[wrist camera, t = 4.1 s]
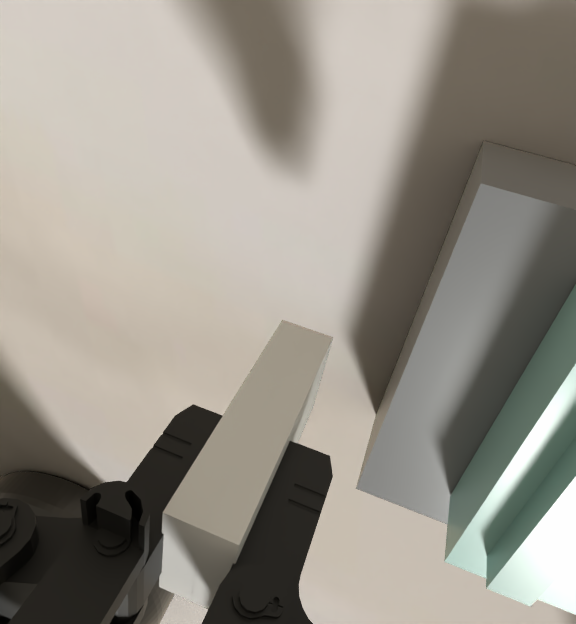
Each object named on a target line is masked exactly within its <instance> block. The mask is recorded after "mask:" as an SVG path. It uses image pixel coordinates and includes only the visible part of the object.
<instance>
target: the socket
mask: <svg viewBox="0 0 576 624" xmlns="http://www.w3.org/2000/svg"><path fill="white" fill-rule="evenodd" d="M575 284H576V165H573V164H570V163H566V162H562V161H558V160H554V159H551V158H547V157H543V156H539V155H536V154H532V153H528V152H524V151H521V150H517V149H513V148H509V147H506V146H502V145H498V144H494V143H491V142H487V141H483V144H482V146H481V149H480V151H479V154H478V156H477V159H476V162H475V164H474V167H473V169H472V172H471V174H470V177H469V179H468V182H467V184H466V187H465V190H464V192H463V195H462V197H461V200H460V202H459V205H458V207H457V210H456V213H455V215H454V218H453V220H452V223H451V225H450V228H449V230H448V233H447V235H446V238H445V241H444V243H443V246H442V248H441V251H440V253H439V256H438V258H437V261H436V263H435V266H434V269H433V271H432V274H431V276H430V279H429V281H428V284H427V286H426V289H425V292H424V294H423V297H422V299H421V302H420V304H419V307H418V309H417V312H416V314H415V317H414V320H413V322H412V325H411V327H410V330H409V332H408V335H407V337H406V340H405V343H404V345H403V348H402V350H401V353H400V355H399V358H398V360H397V363H396V365H395V368H394V371H393V373H392V376H391V378H390V381H389V383H388V386H387V388H386V391H385V394H384V396H383V399H382V401H381V404H380V406H379V409H378V411H377V414H376V417H375V420H374V424H373V428H372V432H371V435H370V439H369V443H368V446H367V450H366V454H365V457H364V461H363V465H362V468H361V472H360V476H359V479H358V483H357V487H356V489H358V490H361V491H363V492H366V493H369V494H371V495H374V496H376V497H379V498H381V499H384V500H386V501H389V502H391V503H394V504H397V505H399V506H402V507H404V508H407V509H409V510H412V511H414V512H417V513H419V514H422V515H425V516H427V517H430V518H432V519H435V520H437V521H440V522H442V523H445V524H448V514H449V503H450V496H451V494H452V492H453V491H454V489H455V487H456V485H457V484H458V482H459V480H460V479H461V477H462V475H463V474H464V472H465V470H466V469H467V467H468V465H469V463H470V462H471V460H472V458H473V457H474V455H475V453H476V452H477V450H478V448H479V447H480V445H481V443H482V442H483V440H484V438H485V436H486V435H487V433H488V431H489V430H490V428H491V426H492V425H493V423H494V421H495V420H496V418H497V416H498V414H499V413H500V411H501V409H502V408H503V406H504V404H505V403H506V401H507V399H508V398H509V396H510V394H511V393H512V391H513V389H514V387H515V386H516V384H517V382H518V381H519V379H520V377H521V376H522V374H523V372H524V371H525V369H526V367H527V366H528V364H529V362H530V360H531V359H532V357H533V355H534V354H535V352H536V350H537V349H538V347H539V345H540V344H541V342H542V340H543V338H544V337H545V335H546V333H547V332H548V330H549V328H550V327H551V325H552V323H553V322H554V320H555V318H556V317H557V315H558V313H559V311H560V310H561V308H562V306H563V305H564V303H565V301H566V300H567V298H568V296H569V295H570V293H571V291H572V289H573V288H574V286H575Z"/></svg>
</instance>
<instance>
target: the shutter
mask: <svg viewBox="0 0 576 624" xmlns="http://www.w3.org/2000/svg"><path fill="white" fill-rule="evenodd" d="M444 562H446V563H449V564H451V565H454V566H456V567H459V568H461V569H464V570H466V571H469V572H471V573H474V574H476V575H478V576H481V577H483V578H486V589H489V590H491V591H494V592H496V593H499V594H501V595H503V596H506V597H508V598H511V599H513V600H516V601H518V602H521V603H523V604H525V605H528V606H531V605H532V604H533V603H534V602H535V601H536V600H537V599H538V600H540V601H543V602H545V603H548V604H550V605H553V606H555V607H557V608H560V609H562V610H565V611H567V612H570V613H572V614H575V615H576V284H575V286H574V288H573V289H572V291H571V293H570V295H569V296H568V298H567V300H566V301H565V303H564V305H563V306H562V308H561V310H560V311H559V313H558V315H557V317H556V318H555V320H554V322H553V323H552V325H551V327H550V328H549V330H548V332H547V333H546V335H545V337H544V338H543V340H542V342H541V344H540V345H539V347H538V349H537V350H536V352H535V354H534V355H533V357H532V359H531V360H530V362H529V364H528V366H527V367H526V369H525V371H524V372H523V374H522V376H521V377H520V379H519V381H518V382H517V384H516V386H515V387H514V389H513V391H512V393H511V394H510V396H509V398H508V399H507V401H506V403H505V404H504V406H503V408H502V409H501V411H500V413H499V414H498V416H497V418H496V420H495V421H494V423H493V425H492V426H491V428H490V430H489V431H488V433H487V435H486V436H485V438H484V440H483V442H482V443H481V445H480V447H479V448H478V450H477V452H476V453H475V455H474V457H473V458H472V460H471V462H470V463H469V465H468V467H467V469H466V470H465V472H464V474H463V475H462V477H461V479H460V480H459V482H458V484H457V485H456V487H455V489H454V491H453V492H452V494H451V496H450V503H449V514H448V526H447V538H446V549H445V561H444Z"/></svg>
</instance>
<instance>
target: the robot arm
mask: <svg viewBox="0 0 576 624" xmlns="http://www.w3.org/2000/svg"><path fill="white" fill-rule="evenodd" d="M332 339H333V337H330V336H328V335H325V334H322V333H319V332H316V331H313V330H310V329H307V328H304V327H302V326H299V325H296V324H293V323H290V322H287V321H284V320H282V321H281V323H280V325H279V326H278V328H277V329H276V331H275V333H274V334H273V336H272V337H271V339H270V341H269V342H268V344H267V345H266V347H265V349H264V350H263V352H262V353H261V355H260V357H259V358H258V360H257V362H256V363H255V365H254V366H253V368H252V370H251V371H250V373H249V374H248V376H247V378H246V379H245V381H244V382H243V384H242V386H241V387H240V389H239V390H238V392H237V394H236V395H235V397H234V399H233V400H232V402H231V403H230V405H229V407H228V408H227V410H226V411H225V413H224V415H223V416H222V415H219V414H217V413H214V412H212V411H209V410H206V409H204V408H201V407H199V406H196V405H192V406H190V407H188V408H187V409H185V410H184V411H182V412H180V413H179V414H177V415H176V416H175V417H174V418H173V419H172V421H171V422H170V424H169V425H168V426H167V428H166V429H165V430H164V432H163V434H162V435H161V436H160V437H159V439H158V440H157V441H156V443H155V444H154V446H153V448H152V449H151V450H150V451H149V452H148V454H147V455H146V456H145V458H144V459H143V461H142V462H141V463H140V465H139V466H138V467H137V469H136V470H135V472H134V473H133V474H132V476H131V477H130V478H129V480H128V481H127V482H122V481H113V482H105V483H102V484H100V485H98V486H96V487H93V488H91V489H90V490H87V489H85V488H83V487H81V486H78V485H76V484H74V483H72V482H69V481H67V480H64V479H61V478H58V477H55V476H51V475H47V474H43V473H37V472H15V473H11V474H8V475H5V476H3V477H2V478H1V479H0V624H159V623H160V621H161V619H162V618H163V616H164V614H165V612H166V610H167V608H168V606H169V604H170V602H171V600H172V598H173V596H174V594H176V595H178V596H180V597H182V598H184V599H187V600H189V601H191V602H193V603H195V604H198V605H200V606H202V607H204V608H206V609H208V612H207V614H206V616H205V618H204V620H203V622H202V624H313V623H312V622H311V621H310V620H309V619H308V617H307V615H306V613H305V612H304V610H303V608H302V604H301V601H300V597H299V580H300V575H301V572H302V569H303V566H304V563H305V559H306V556H307V553H308V550H309V547H310V544H311V541H312V538H313V535H314V532H315V529H316V526H317V523H318V520H319V517H320V513H321V510H322V507H323V504H324V501H325V498H326V495H327V492H328V489H329V486H330V483H331V480H332V477H333V475H332V468H331V461H330V456H329V455H326V454H323V453H321V452H318V451H316V450H313V449H310V448H308V447H305V446H303V445H300V444H298V441H299V439H300V437H301V434H302V432H303V430H304V427H305V425H306V422H307V420H308V418H309V415H310V413H311V411H312V408H313V406H314V403H315V399H316V396H317V392H318V388H319V385H320V381H321V378H322V374H323V371H324V367H325V364H326V360H327V357H328V353H329V350H330V346H331V343H332Z"/></svg>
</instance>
